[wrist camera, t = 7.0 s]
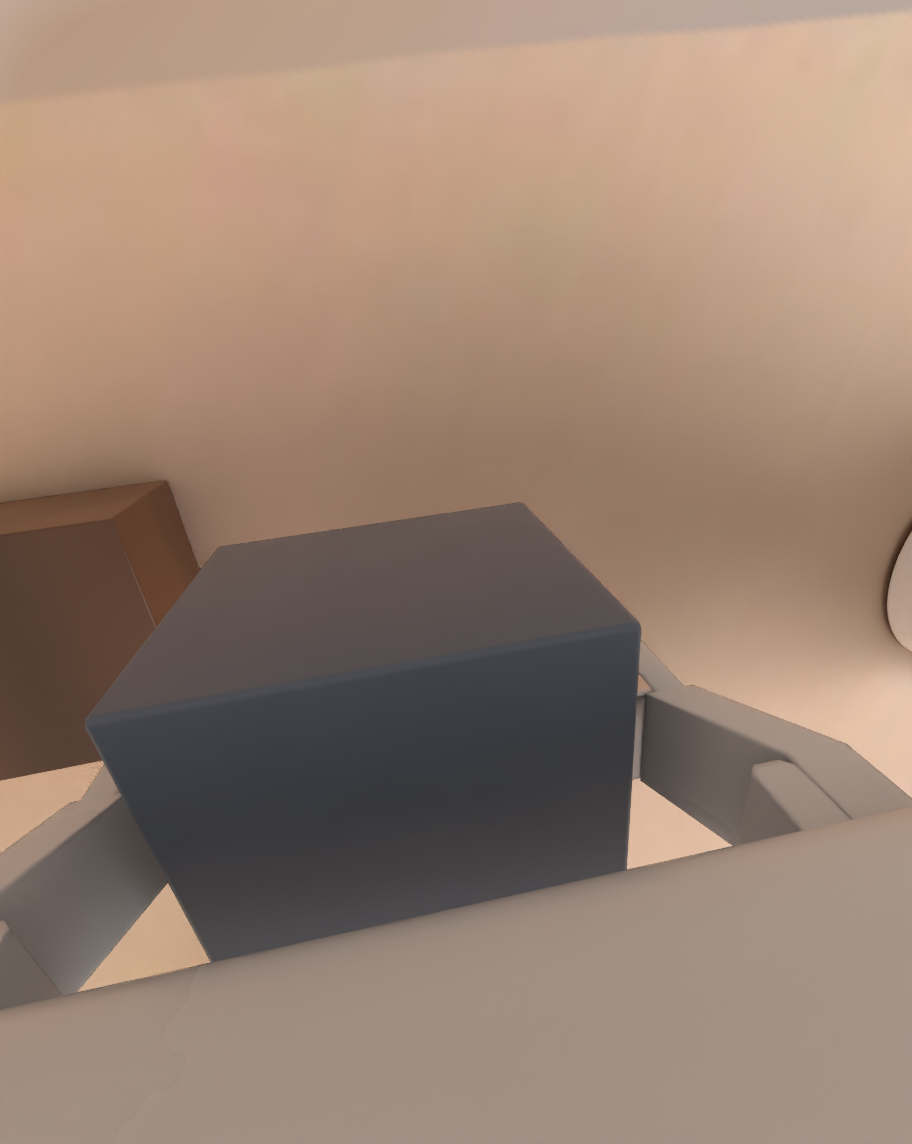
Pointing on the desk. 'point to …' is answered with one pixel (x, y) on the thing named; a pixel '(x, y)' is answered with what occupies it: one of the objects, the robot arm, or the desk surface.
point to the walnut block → (79, 611)
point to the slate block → (377, 727)
